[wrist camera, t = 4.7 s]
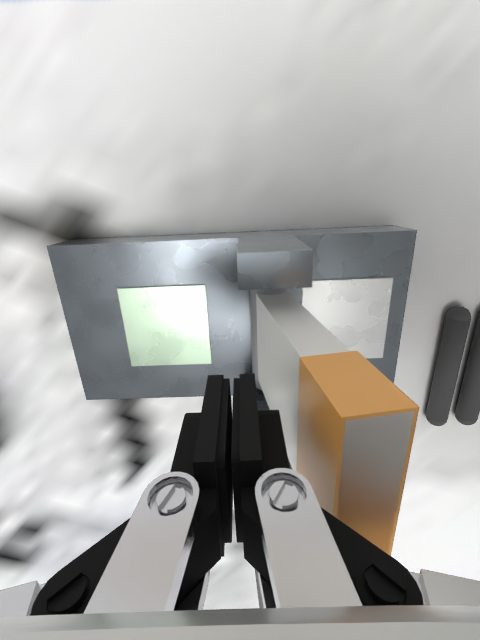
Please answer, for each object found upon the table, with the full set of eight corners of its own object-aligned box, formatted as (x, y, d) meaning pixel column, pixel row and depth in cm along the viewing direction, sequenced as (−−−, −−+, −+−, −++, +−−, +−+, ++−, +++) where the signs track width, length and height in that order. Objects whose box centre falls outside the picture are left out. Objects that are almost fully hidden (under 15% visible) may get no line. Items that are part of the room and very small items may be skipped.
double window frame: (392, 225, 20) (482, 242, 12) (374, 367, 23) (436, 447, 16) (73, 239, 20) (-26, 264, 13) (104, 375, 24) (41, 457, 16)
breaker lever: (282, 272, 17) (427, 386, 7) (281, 371, 20) (390, 573, 9) (246, 275, 17) (338, 398, 7) (249, 374, 19) (323, 586, 9)
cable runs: (497, 302, 21) (514, 308, 20) (467, 416, 25) (479, 428, 24) (443, 304, 22) (456, 311, 20) (420, 418, 25) (430, 430, 24)
